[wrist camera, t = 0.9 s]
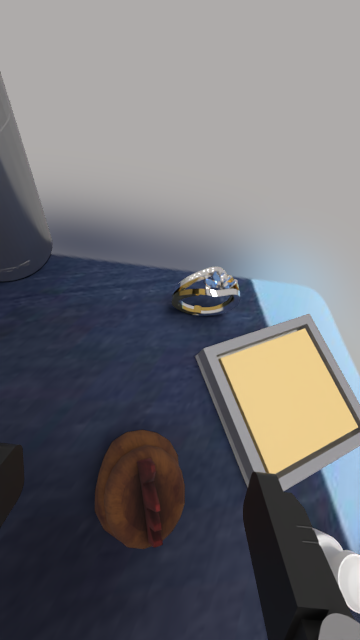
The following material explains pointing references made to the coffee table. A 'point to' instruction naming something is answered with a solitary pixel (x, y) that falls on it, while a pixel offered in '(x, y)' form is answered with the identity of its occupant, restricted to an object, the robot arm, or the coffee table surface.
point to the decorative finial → (343, 569)
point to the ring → (207, 292)
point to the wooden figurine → (140, 489)
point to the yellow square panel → (286, 399)
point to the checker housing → (234, 419)
